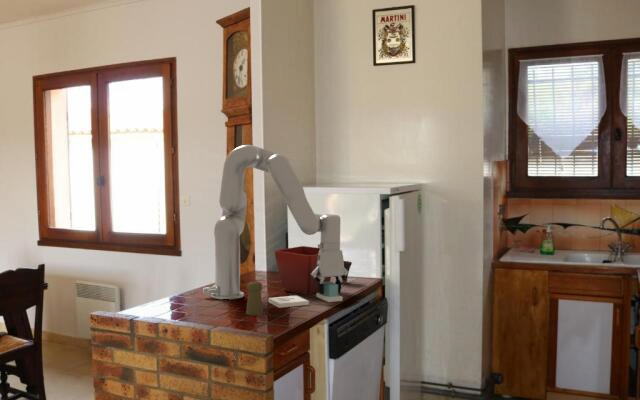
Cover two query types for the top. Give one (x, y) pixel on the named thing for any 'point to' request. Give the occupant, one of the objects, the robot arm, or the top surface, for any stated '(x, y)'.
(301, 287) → the plant pot
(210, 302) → the top surface
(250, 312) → the olive green pepper shaker
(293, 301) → the white flat slab
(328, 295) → the stub
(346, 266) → the cup
